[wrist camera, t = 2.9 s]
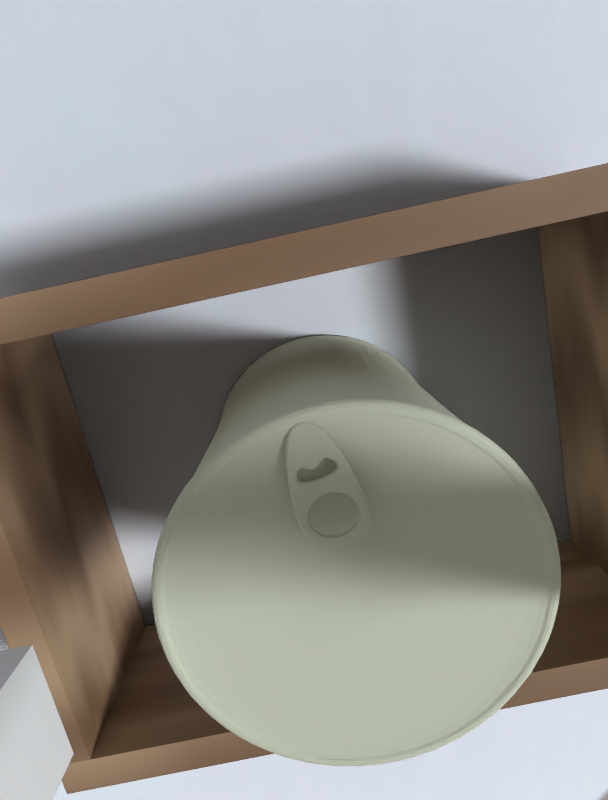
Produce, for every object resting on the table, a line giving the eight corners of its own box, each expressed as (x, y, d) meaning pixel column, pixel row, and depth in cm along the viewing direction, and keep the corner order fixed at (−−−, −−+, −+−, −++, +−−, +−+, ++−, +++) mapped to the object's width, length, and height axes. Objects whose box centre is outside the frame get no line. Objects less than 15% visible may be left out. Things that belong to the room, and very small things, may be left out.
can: (399, 304, 22) (526, 339, 10) (454, 504, 24) (613, 726, 12) (187, 374, 22) (70, 485, 10) (259, 563, 24) (229, 833, 12)
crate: (11, 308, 21) (-121, 324, 14) (564, 186, 21) (698, 142, 14) (128, 652, 25) (67, 793, 18) (599, 557, 24) (717, 666, 18)
